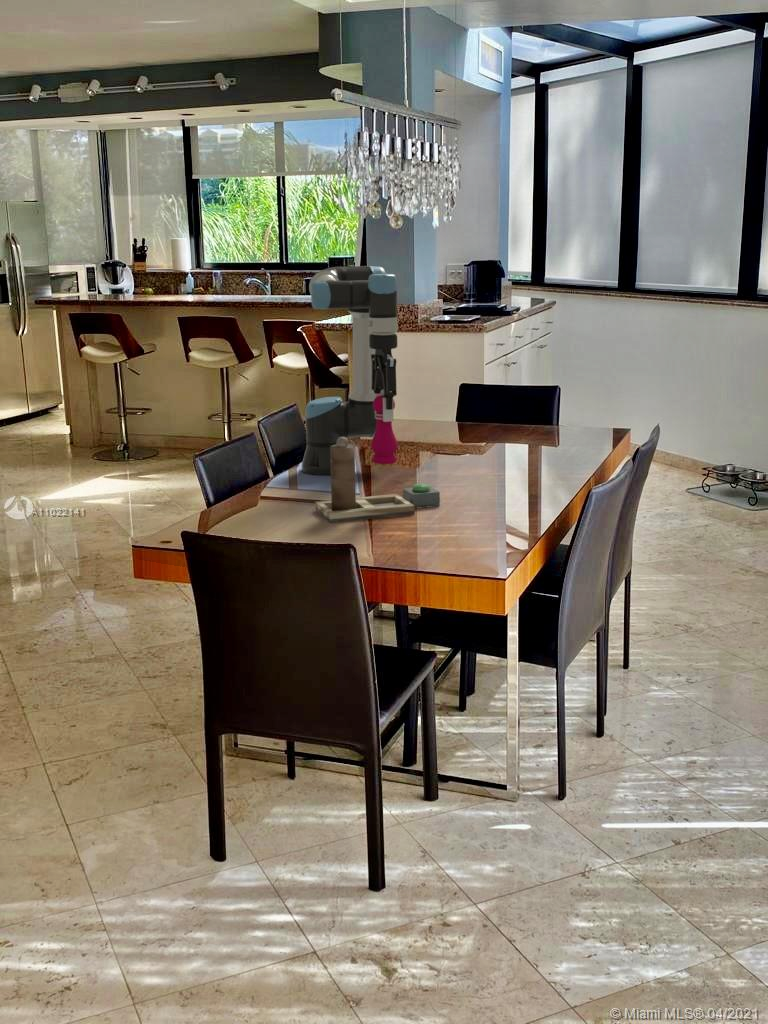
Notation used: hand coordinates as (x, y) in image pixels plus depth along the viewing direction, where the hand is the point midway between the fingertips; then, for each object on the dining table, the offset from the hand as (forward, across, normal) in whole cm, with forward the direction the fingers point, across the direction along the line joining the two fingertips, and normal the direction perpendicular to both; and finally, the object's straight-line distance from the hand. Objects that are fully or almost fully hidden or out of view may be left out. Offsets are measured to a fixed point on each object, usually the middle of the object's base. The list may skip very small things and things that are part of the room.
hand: (384, 419), depth 289 cm
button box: (+26, -3, +12) cm, 29 cm away
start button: (+24, -3, +12) cm, 27 cm away
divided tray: (+26, 0, -6) cm, 26 cm away
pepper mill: (+12, 0, 0) cm, 12 cm away
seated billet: (+26, 0, -12) cm, 28 cm away
